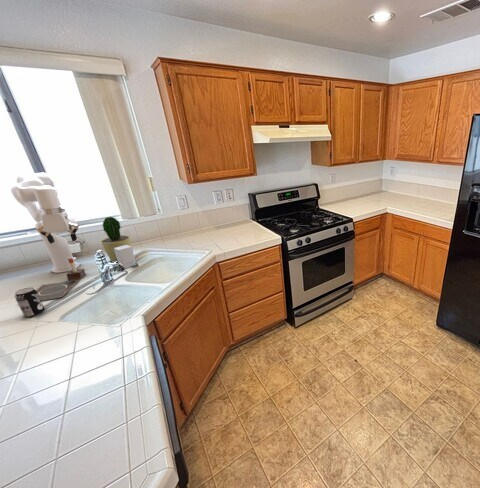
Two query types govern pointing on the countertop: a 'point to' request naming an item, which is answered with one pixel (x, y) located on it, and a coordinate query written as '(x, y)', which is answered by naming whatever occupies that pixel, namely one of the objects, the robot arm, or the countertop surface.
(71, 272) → the pen holder
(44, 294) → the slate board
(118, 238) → the potted cactus
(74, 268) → the marker
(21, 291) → the beverage can
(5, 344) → the countertop surface
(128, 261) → the white packaging box
